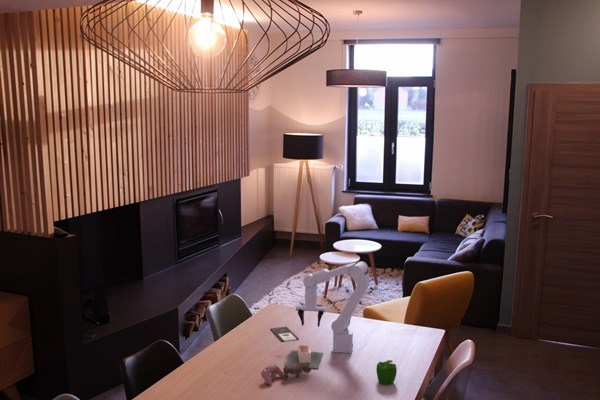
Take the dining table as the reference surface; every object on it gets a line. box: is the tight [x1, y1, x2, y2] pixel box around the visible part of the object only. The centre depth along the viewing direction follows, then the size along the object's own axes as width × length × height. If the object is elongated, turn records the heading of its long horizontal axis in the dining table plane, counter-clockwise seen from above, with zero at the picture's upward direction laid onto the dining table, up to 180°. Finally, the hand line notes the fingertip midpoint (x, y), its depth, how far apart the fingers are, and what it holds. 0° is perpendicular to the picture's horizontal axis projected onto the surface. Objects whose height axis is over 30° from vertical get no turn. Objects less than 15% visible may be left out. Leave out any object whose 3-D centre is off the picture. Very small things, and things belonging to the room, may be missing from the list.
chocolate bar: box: [270, 326, 299, 343], centre depth 287 cm, size 9×1×18 cm
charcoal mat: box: [283, 350, 324, 370], centre depth 256 cm, size 15×17×1 cm
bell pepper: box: [375, 359, 398, 386], centre depth 234 cm, size 8×8×10 cm
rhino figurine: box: [282, 363, 313, 381], centre depth 239 cm, size 4×14×6 cm, turn 111°
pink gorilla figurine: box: [260, 364, 284, 386], centre depth 236 cm, size 10×5×7 cm, turn 144°
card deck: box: [297, 345, 312, 363], centre depth 256 cm, size 8×5×5 cm, turn 5°
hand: (310, 325), depth 274 cm, fingers open, 7 cm apart
